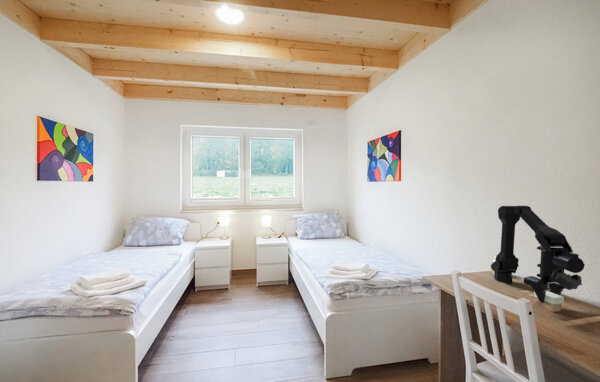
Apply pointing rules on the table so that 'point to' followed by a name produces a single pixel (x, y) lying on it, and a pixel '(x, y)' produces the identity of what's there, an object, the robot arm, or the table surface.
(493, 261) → the supplement bottle
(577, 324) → the table surface
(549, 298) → the cover
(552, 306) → the lock board
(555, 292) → the robot arm
